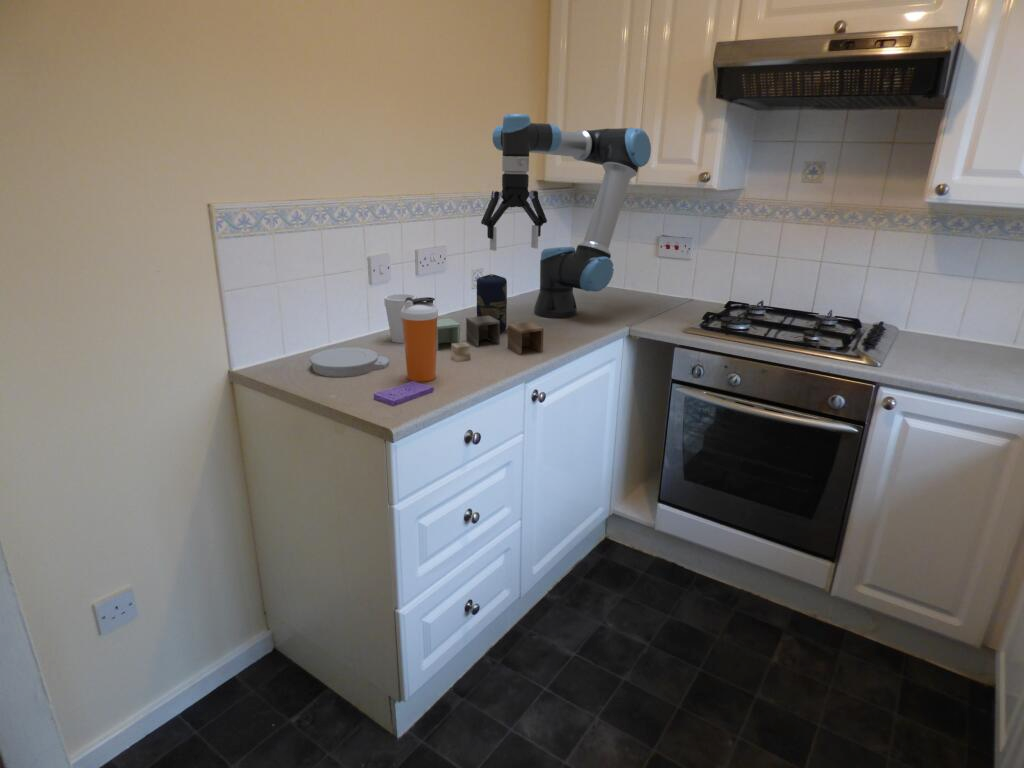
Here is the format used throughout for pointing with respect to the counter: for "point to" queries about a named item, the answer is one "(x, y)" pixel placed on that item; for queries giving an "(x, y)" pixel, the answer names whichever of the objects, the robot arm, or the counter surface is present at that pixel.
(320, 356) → the lid
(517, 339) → the cover walnut
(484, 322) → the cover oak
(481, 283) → the canister
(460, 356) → the maple cube
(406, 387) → the sponges
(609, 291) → the counter surface
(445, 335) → the cover green
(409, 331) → the shaker bottle
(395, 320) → the foam cup
